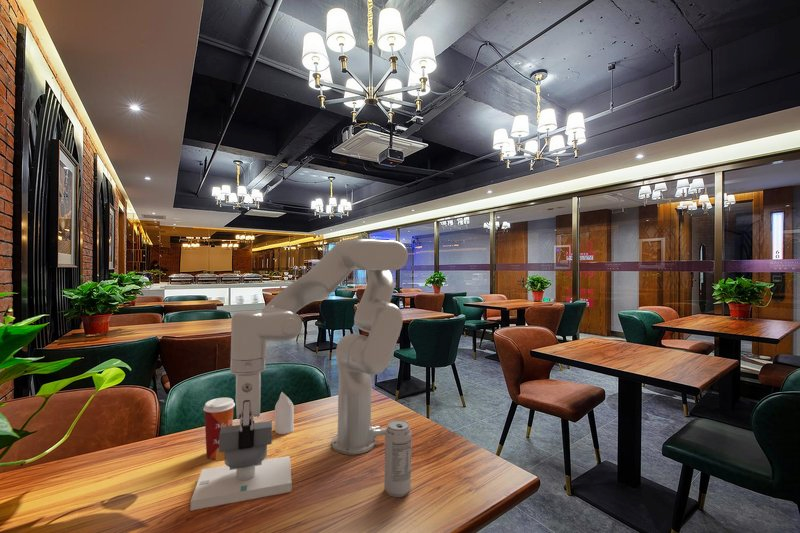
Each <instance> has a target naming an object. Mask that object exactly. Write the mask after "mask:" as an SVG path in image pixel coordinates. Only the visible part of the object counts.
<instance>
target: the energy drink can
mask: <svg viewBox="0 0 800 533" xmlns="http://www.w3.org/2000/svg"><path fill="white" fill-rule="evenodd" d="M384 438H385V440H384V441H385V442H384V443H385V444H384V485H383V486H384V490H385V492H386V493H387V495H389V496H390V497H392V498H401V497H404V496H406V495H407V494H408V492H409V491H410V490H411V487H412V483H411V482H412V481H411V478H412V430H411V428H410V424H409V423H408V422H407V421H405V420H403V419H402V420H399V419H396V420H391V421H390V422H388V424H387V428H386V431H385V435H384Z"/></svg>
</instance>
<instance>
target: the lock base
mask: <svg viewBox="0 0 800 533" xmlns="http://www.w3.org/2000/svg"><path fill="white" fill-rule="evenodd" d="M290 457H291V456H290V455H287V456H281V457H274V458H267V459H266V458H265V459H264V460H263V461H261V462H260V463H258V464H256V465H253V466H250V467H245V468H231V467H228V466H227V465H221V466H216V467H207V468H202V469H201V471H200V474H199V477H198V480H197V483H196V486H195V488H194V491H193V494H192V496H191V499H190V507H189V508H190V510H189V511H195V510H201V509H205V508H210V507H212V508H213V507H217V506H222V505H228V504H231V503H238V502H244V501H248V500H254V499H255V500H256V499H259V498H260V499H261V498H264V497H270V496H276V495H280V494H286V493H291V492H292V487H293V486H292V482H293V481H292V470H291V469H292V467H291V458H290Z"/></svg>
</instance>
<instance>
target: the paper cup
mask: <svg viewBox="0 0 800 533" xmlns="http://www.w3.org/2000/svg"><path fill="white" fill-rule="evenodd" d="M235 407H236V402H234V399H233V398H231V397H217V398H213V399H210V400H208V401H207V402H205V404H204V406H203V408H202V409H203V411H204V425H205V426H204V427H205V429H204V430H205V431H204V432H205V449H206V450H205V451H206V457H207V459H209V460H216V451H217V449H219V434H220V431H221V427H227V426H233V421H234V420H233V419H234V410H235Z"/></svg>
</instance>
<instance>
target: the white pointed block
mask: <svg viewBox="0 0 800 533" xmlns="http://www.w3.org/2000/svg"><path fill="white" fill-rule="evenodd" d="M294 409H295V408H294V403H293V402H292V400H291V399H290V398H289V397H288V396H287V395H286V394H285V393H284V392H283V391H281V393H280V395H279V398H278V400H277V402H276V404H275V406H274V433H276V434H277V433H278V435H287V434H290V432H291V433H292V432H293V431H294V430H295V429H294V428H295V427H294V426H295V425H294V422H295V421H294V416H295V415H294V413H295V412H294ZM286 433H287V434H286Z"/></svg>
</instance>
